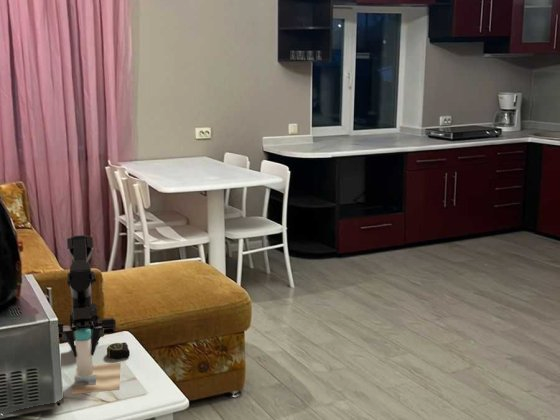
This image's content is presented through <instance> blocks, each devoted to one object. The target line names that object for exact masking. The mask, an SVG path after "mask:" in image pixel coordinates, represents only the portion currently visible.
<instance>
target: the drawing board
mask: <svg viewBox="0 0 560 420" xmlns="http://www.w3.org/2000/svg"><path fill="white" fill-rule="evenodd" d="M121 364H122V363H121V362H112V363H110V362H109V363H99V364H97V363H96V364H93V373H92V374H91V375H89V376H85V377H82V376H78V375H77V368H76V370H75V376H74V381H73V386H72V391H71V394H73V395H74V394H84V393H85V394H86V393H99V392H107V391H119V390H120V385H121V366H122V365H121Z"/></svg>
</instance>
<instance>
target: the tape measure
mask: <svg viewBox="0 0 560 420" xmlns="http://www.w3.org/2000/svg"><path fill="white" fill-rule="evenodd" d="M106 355H107V357H108V358H109V359H112V360H120V359H121V360H122V359H126V358H129V357H130V349H129V345H128V343H127V342H125V341H124V342H115V343H110V344H109V345H108V346H107V348H106Z"/></svg>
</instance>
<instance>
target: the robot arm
mask: <svg viewBox="0 0 560 420" xmlns="http://www.w3.org/2000/svg"><path fill="white" fill-rule="evenodd" d="M66 245H67V247H66V249H67V252H69V254H70V255H69V256H70V258H71V260H72V261H73V263H72V264H70V265H69V272H67V276H66V277H67V278H66V279H67V286H68V287H69V288H70V293H71V294H70V295H71V314H69V322H70V323H69V324H70V325H64V322H57V323H58V327H59V340H60V339H62V341H66V342H67V343H68V345H69V347H70V350H71V352H72V354H73V356H74V358H76V345H75V337H74V334H73V333H74V332H75V330H77V329H81V328H88V329H90V330H91V346H92V357H93V356H94V354H95V351H96V348H97V346H98V345H99V341H100V339H101V338H103V337H104V336H105V335H110V334H116V332H117V325H116V322H117V321H116V319H115V318H114V317H109V318H101V322H100V316H99V315H98V305H97V304H96V303H93V301H92V286H93V285H94V284H95V283H96V282H97V281H96V280H97V279H96V274H95V272H94V270H93V271H92V267H91V266H92V265H91V264H90V263H89V261H90V259H91V257H92V254H93V253H92V250H94V239H93V237H92V236H90V235H85V234H80V235H78V234H77V235H73V236H71V237H70V238H67V239H66Z"/></svg>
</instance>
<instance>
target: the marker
mask: <svg viewBox="0 0 560 420" xmlns="http://www.w3.org/2000/svg"><path fill="white" fill-rule="evenodd" d="M73 333H74V334H73V335H74V344H75V345H76V357H75V359H76V361H75V362H76V369H77V375H78V376H82V377H85V376H89V375H91V374H92V373H93V365H94V364H93V356H92V346H91V330H90V329H88V328H81V329H77V330H75V332H73Z"/></svg>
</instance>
